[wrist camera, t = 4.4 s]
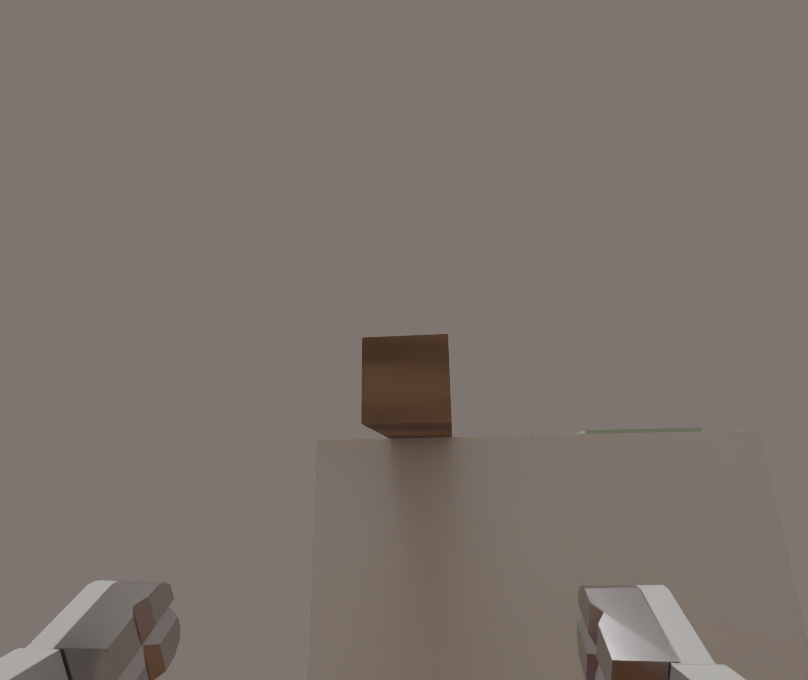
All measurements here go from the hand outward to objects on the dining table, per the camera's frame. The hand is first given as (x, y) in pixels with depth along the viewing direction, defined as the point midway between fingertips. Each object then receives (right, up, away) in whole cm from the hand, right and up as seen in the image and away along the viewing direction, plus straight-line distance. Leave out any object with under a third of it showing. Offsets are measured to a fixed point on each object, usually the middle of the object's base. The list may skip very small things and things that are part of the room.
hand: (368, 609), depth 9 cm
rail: (+2, -1, +19) cm, 19 cm away
